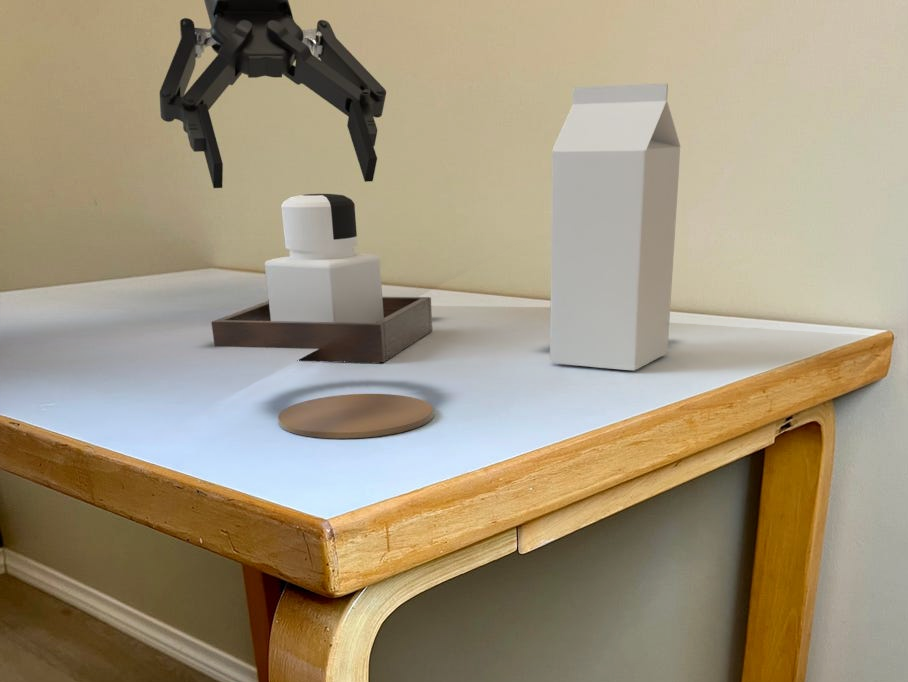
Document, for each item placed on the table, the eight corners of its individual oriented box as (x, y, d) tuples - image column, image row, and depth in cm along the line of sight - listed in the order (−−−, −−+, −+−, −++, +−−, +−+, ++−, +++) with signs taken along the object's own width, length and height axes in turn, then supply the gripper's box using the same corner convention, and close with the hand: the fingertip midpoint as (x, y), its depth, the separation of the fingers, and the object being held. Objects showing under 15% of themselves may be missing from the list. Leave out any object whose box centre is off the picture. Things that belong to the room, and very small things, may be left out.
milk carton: (635, 373, 75) (649, 82, 66) (549, 365, 78) (552, 86, 70) (667, 355, 81) (684, 84, 72) (586, 349, 84) (593, 88, 75)
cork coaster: (252, 435, 62) (251, 428, 62) (313, 397, 71) (312, 391, 70) (408, 441, 60) (407, 435, 60) (450, 401, 68) (450, 396, 68)
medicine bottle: (322, 334, 93) (310, 191, 87) (386, 340, 89) (377, 192, 84) (272, 348, 87) (255, 197, 82) (338, 354, 84) (324, 197, 78)
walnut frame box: (216, 358, 83) (210, 321, 82) (285, 328, 96) (282, 295, 95) (383, 363, 80) (380, 324, 79) (432, 331, 93) (431, 297, 92)
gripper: (366, 28, 101) (422, 198, 96) (107, 26, 93) (152, 211, 88) (377, -43, 94) (438, 135, 89) (99, -52, 86) (147, 143, 81)
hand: (296, 173), depth 88 cm, fingers open, 13 cm apart
